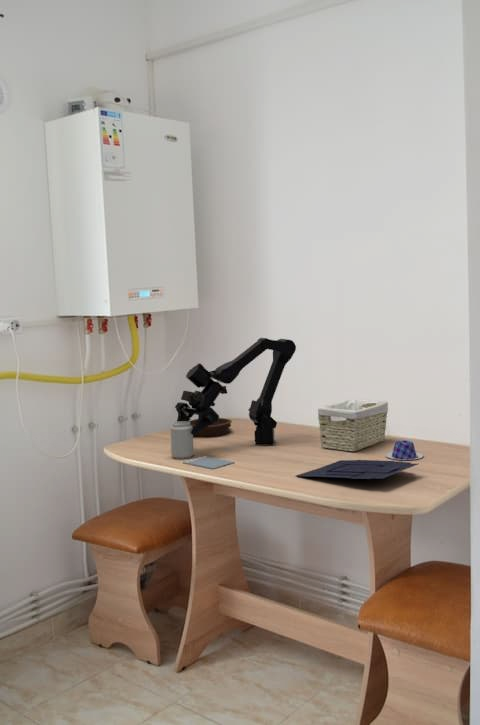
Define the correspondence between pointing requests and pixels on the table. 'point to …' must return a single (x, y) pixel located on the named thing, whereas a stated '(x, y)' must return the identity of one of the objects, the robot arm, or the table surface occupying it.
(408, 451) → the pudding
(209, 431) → the dish
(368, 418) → the storage basket
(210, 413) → the robot arm
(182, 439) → the can
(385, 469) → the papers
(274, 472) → the table surface
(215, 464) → the mat
